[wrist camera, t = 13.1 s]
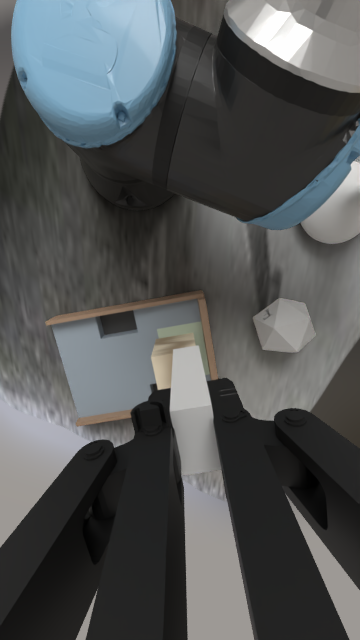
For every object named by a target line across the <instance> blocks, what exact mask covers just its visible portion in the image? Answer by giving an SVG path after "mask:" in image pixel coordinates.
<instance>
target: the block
mask: <svg viewBox="0 0 360 640" xmlns="http://www.w3.org/2000/svg"><path fill="white" fill-rule="evenodd" d="M191 346H196V344H195V339H194V333H188V334H182V335H177V336H171V337H165V338H159V339H156V340H155V344H154V348H153V352H152V355H151V360H152V364H153V369H154V374H155V378H156V383H157V388H158V390H161V389H167V388H171V379H172V361H173V349H179V348H185V347H191Z"/></svg>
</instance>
